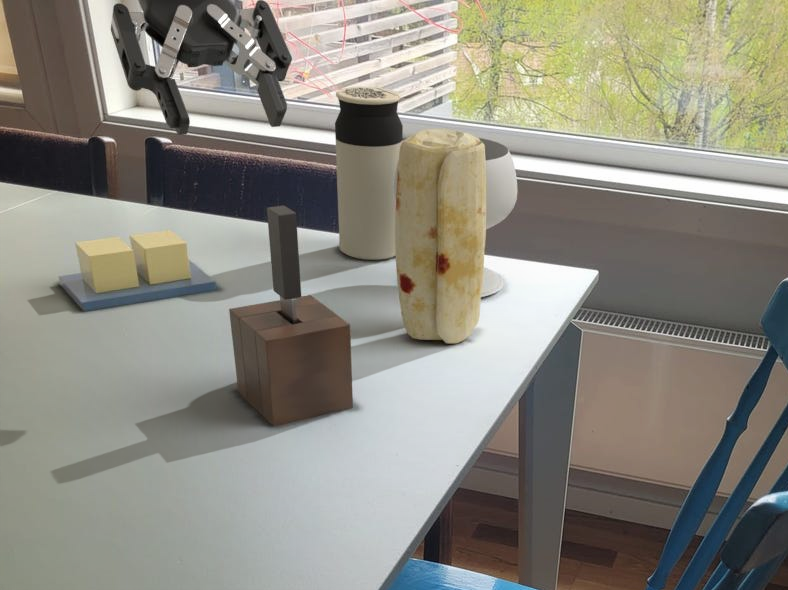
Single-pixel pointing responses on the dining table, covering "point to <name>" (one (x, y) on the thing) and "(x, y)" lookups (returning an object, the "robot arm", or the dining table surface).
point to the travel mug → (367, 170)
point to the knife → (285, 259)
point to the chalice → (494, 198)
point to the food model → (440, 233)
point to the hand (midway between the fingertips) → (232, 125)
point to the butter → (133, 271)
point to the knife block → (292, 360)
